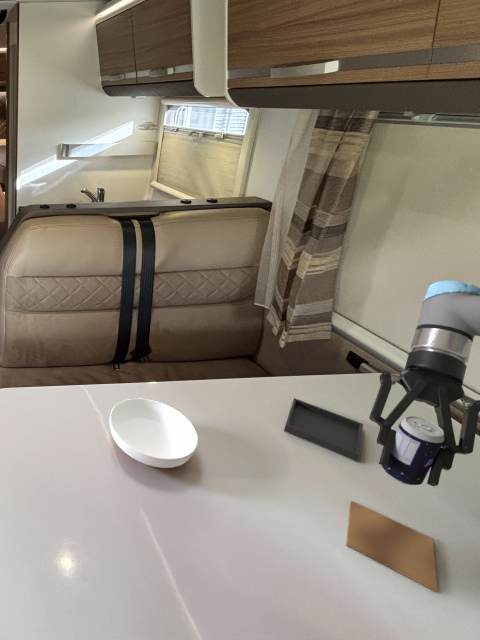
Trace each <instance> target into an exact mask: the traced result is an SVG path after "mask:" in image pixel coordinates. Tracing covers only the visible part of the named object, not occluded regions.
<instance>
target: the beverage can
mask: <svg viewBox="0 0 480 640" xmlns="http://www.w3.org/2000/svg"><path fill="white" fill-rule="evenodd" d="M395 431H396V436H395V439H394V443H393V447H392V450H391V454H390V458H389V461H388V465H386V466H383V465H381V468H382V469H383V470H384V472H385V473H386V475H387V476H388V477H390V478H391V479H393V480H394V481H396V482H397V483H401V484H403V485H407V486H420V485H422V484H423V482H424V481H425V479H426V477H427V476H428V473H429V472H430V469H431V466H432V464H433V462H434V460H435V458H436V456H437V454H438V452H439V450H440V449H441V448H442V445H443V443H444V437H443V435H444V432H443V430H442V429H441V428H440V427H439V426H438V424H436V423H434V422H432V421H430V420H428V419H425V418H422V417H419V416H412V415H411V416H406V417H404V419H403V420H401V421H400V422H399V424H398V425H397V428H396V430H395Z"/></svg>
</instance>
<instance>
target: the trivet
mask: <svg viewBox="0 0 480 640" xmlns="http://www.w3.org/2000/svg"><path fill="white" fill-rule="evenodd" d="M347 521H348V522H347V533H346V541H345V542H346V543H345V546H346V547H349V548H351V549H352V550H355V551H357V552H359V553H360V554H362V555H364V556H366V557H368V558H370V559H372V560H374V561H376V562H378V563H379V564H381V565H383V566H386V567H387V568H389V569H391V570H393V571H395V572H397V573H399V574H400V575H403V576H404V577H406V578H409V579H410V580H413V581H414V582H416V583H418V584H420V585H422V586H424V587H426V588H428V589H430V590H432V591H434V592H435V593H437V592H438V591H439V590H438V578H437V567H436V557H435V546H434V538H432V537H430V536H428V535H426V534H424V533H422V532H420V531H417V530H415V529H413V528H411V527H408V526H406V525H404V524H402V523H400V522H397V521H396V520H393V519H391V518H389V517H388V516H385V515H383V514H381V513H378V512H376V511H375V510H372V509H370V508H368V507H366V506H364V505H361V504H359V503H357V502H355V501H353V500H350V502H349V510H348V520H347Z"/></svg>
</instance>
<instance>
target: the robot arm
mask: <svg viewBox="0 0 480 640" xmlns="http://www.w3.org/2000/svg"><path fill="white" fill-rule="evenodd" d="M425 293H426V294H425V296H424V299H423V300H422V301H421V306H420V307H421V308H420V312H419V316H418V320H417V325H416V328H415V332H414V335H413V338H412V342H411V345H410V350H411V351H409V352H408V355H407V358H406V363H405V365H404V369H403V371H402V372H400V374H399V373H390V372H389V371H382V372H381V373H380V375H379V384H380V387H379V390H378V391H377V395H376V397H375V400H374V403H373V405H372V408H371V411H370V413H369V420H370V421H371V422H372V423H373V422H374V423H375V424H376V425H378V426H379V431H378V435H377V438H376V444H377V445H380V446H382V450H381V454H380V458H379V462H378V465H381V466H382V465H383V466H386V465H388V461H389V458H390V454H391V450H392V447H393V443H394V439H395V436H396V430H395V429H392V427H393V426H394V425H395V424H396V423H397V421H398V420H399V419H400V418H401V417H402V416H403V414H404V413H405V412H406V411H407V409H408V408H409V407H410V406H411V405H412V403H413V402H414V401H415V402H418V403H425V404H426V405H429V406H430V407H433V409H434V413H435V414H436V421H437V426H439V427H440V428H441V429H442V430H443V432H444V435H443V437H444V443H443V445H442V447H441V449H440V450H439V452H438V454H437V456H436V458H435V460H434V462H433V464H432V466H431V468H430V470H429V472H428V473H429V474H428V478H427V482H426V485H429V486H431V487H437V486H439V482H440V479H441V478H440V477H441V474H442V470H443V471H450V470H451V469H452V468H453V464H454V459H455V455H456V454H458V455H463V456H466V455H470V454H472V453H473V452H474V446H475V440H476V435H477V426H478V421H479V420H478V419H479V414H480V399H474V398H472V397H471V396H469V395H467V394H466V393H465V391H464V387H463V385H464V380H465V375H466V371H467V363H468V362H469V358H470V355H471V350H472V347H473V343H474V339H475V337H480V287H479V286H477V285H475V284H473V283H469V282H467V283H466V282H462V281H460V280H440V281H436V282H433V283H432V284H430V285H429V286H428V288H427V291H426V292H425ZM398 381H399V382H400V385H401V386H402V388H403V389H404V391H405V392H406V394H404V396H402V398H401V399H400V400H399V402H398V403H397V404H396V405H395V407H394V408H393V409H392V410H391V411H390V413H389V414H388V415H387V416H386V417H385V418H384V417H382V415H383V412H384V409H385V406H386V403H387V401H388V397H389V395H390V393H391V389H392V386H395V385H396V384H397V382H398ZM459 400H460V402H461V407H462V408H463V409H464V411H463V414H462V420H461V426H460V432H459V438H458V444H457V442H456V437H455V431H454V426H453V421H452V416H451V415H452V414H451V404H452V403H454V402H456V401H459Z"/></svg>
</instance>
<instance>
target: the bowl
mask: <svg viewBox="0 0 480 640" xmlns="http://www.w3.org/2000/svg"><path fill="white" fill-rule="evenodd" d="M109 428H110V433H111V435H112V438H113V440H114V442H115V443H116V444H117V446H118V447H119V449H121V451H122V452H124V453H125V454H127V455H128V456H129V457H130V458H132V459H134V460H135V461H138V462H139V463H141V464H144V465H146V466H150V467H153V468H161V469H171V468H177V467H180V466H182V465H184V464H185V463H186V462H188V461H189V460H190V459H191V458H192V457H193V455H194V454H195V451H196V450H197V448H198V444H199V436H198V433H197V430H196V428H195V426H194V425H193V423H192V421H190V420H189V419H188V417H186V416H185V415H184V414H182V413H181V412H180V411H179V410H177V409H176V408H174V407H173V406H170V405H168V404H166V403H164V402H161V401H157V400H155V399H149V398H142V397H138V398H133V397H132V398H128V399H125V400H121V401H120V402H118V403H117V404H115V405H114V406H113V407H112V408H111V411H110V413H109Z"/></svg>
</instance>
